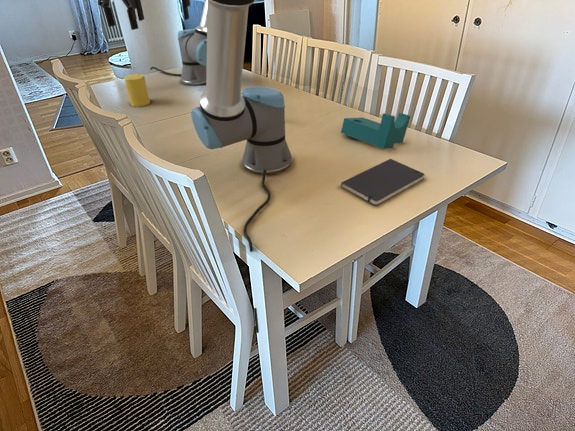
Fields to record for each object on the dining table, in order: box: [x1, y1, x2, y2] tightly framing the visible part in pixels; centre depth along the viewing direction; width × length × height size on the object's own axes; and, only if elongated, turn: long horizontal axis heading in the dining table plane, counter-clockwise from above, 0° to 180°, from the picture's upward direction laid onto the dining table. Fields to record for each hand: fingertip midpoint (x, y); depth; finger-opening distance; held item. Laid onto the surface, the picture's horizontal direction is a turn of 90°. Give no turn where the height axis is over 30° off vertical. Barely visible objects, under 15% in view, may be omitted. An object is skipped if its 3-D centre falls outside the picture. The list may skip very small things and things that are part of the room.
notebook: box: [340, 158, 425, 206], centre depth 114 cm, size 13×2×21 cm
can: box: [123, 73, 151, 107], centre depth 169 cm, size 8×8×11 cm
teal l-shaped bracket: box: [340, 112, 412, 150], centre depth 135 cm, size 18×11×10 cm, turn 43°
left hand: (123, 27), depth 155 cm, fingers open, 13 cm apart
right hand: (164, 19), depth 120 cm, fingers open, 13 cm apart
